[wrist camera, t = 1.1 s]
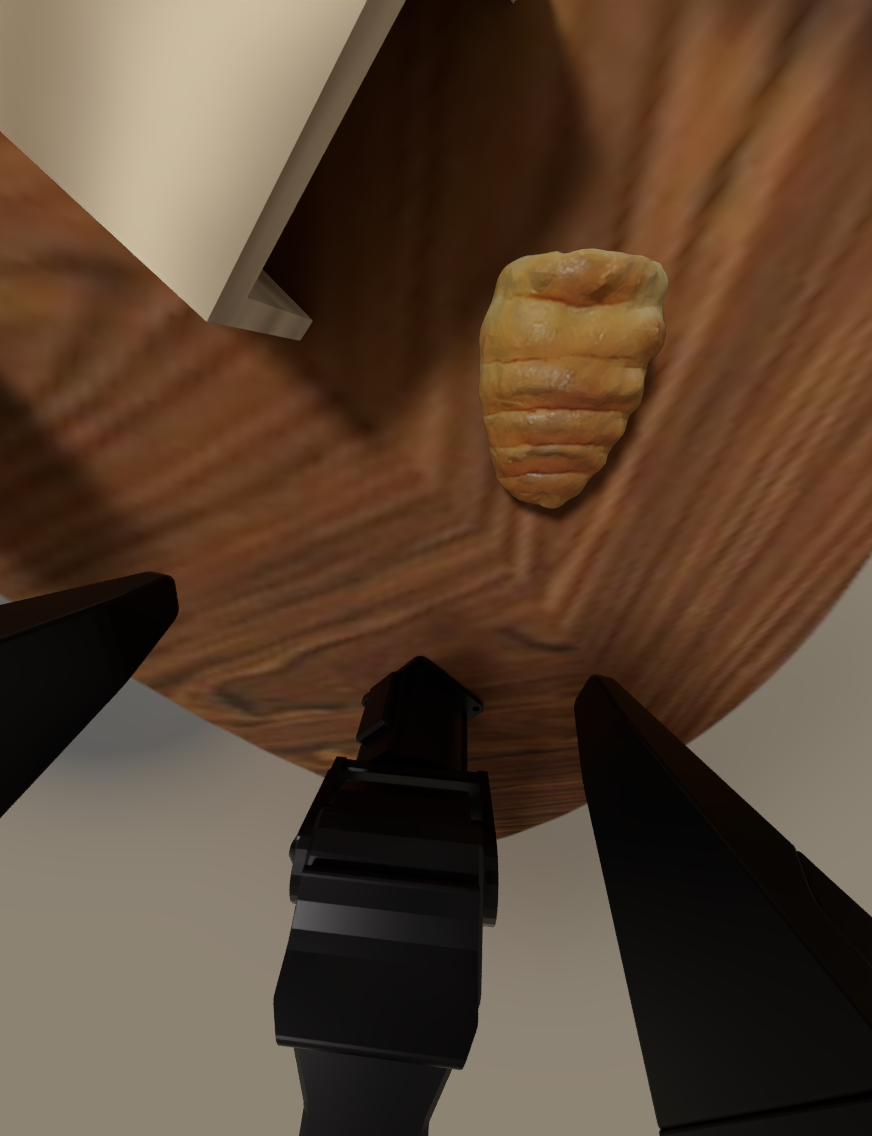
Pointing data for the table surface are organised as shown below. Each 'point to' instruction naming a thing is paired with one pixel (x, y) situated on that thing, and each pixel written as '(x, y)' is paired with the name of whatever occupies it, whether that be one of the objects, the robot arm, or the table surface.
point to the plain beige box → (189, 126)
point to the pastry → (566, 365)
